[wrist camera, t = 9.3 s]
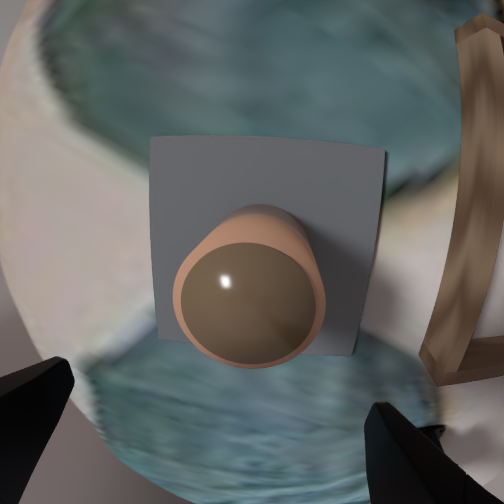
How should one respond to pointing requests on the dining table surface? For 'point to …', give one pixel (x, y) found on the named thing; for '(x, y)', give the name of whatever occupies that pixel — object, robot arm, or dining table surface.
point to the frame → (472, 215)
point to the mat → (276, 194)
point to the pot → (251, 290)
